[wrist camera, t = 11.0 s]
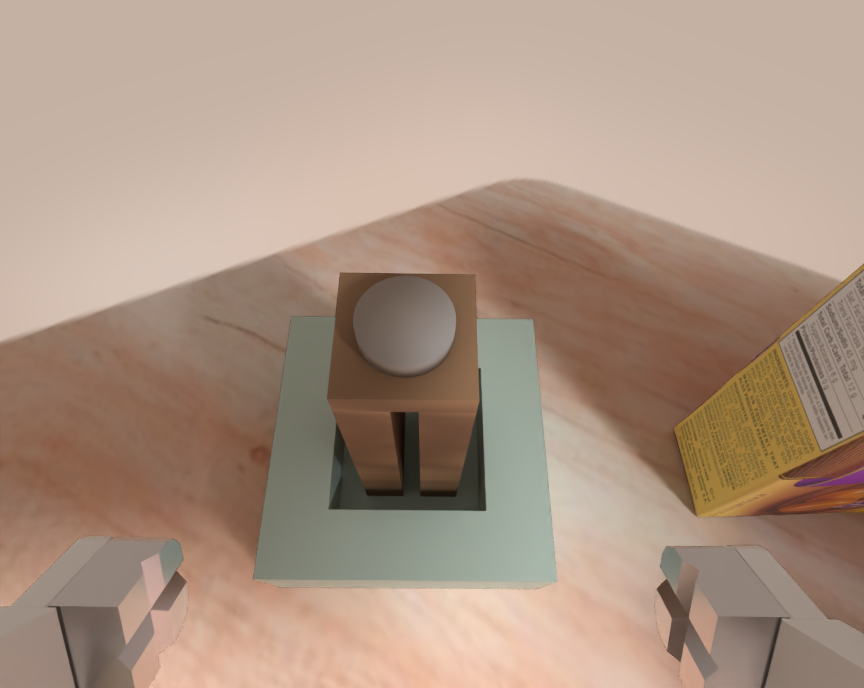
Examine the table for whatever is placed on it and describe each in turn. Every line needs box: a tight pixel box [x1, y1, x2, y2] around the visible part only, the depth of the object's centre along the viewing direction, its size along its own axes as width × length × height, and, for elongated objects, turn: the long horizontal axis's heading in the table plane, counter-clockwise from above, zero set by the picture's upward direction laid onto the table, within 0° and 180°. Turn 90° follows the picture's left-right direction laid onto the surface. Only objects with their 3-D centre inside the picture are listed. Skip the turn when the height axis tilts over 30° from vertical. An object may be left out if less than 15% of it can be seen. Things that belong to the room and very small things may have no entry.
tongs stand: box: [253, 316, 557, 589], centre depth 22 cm, size 10×10×4 cm
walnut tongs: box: [327, 273, 479, 497], centre depth 18 cm, size 4×4×11 cm
